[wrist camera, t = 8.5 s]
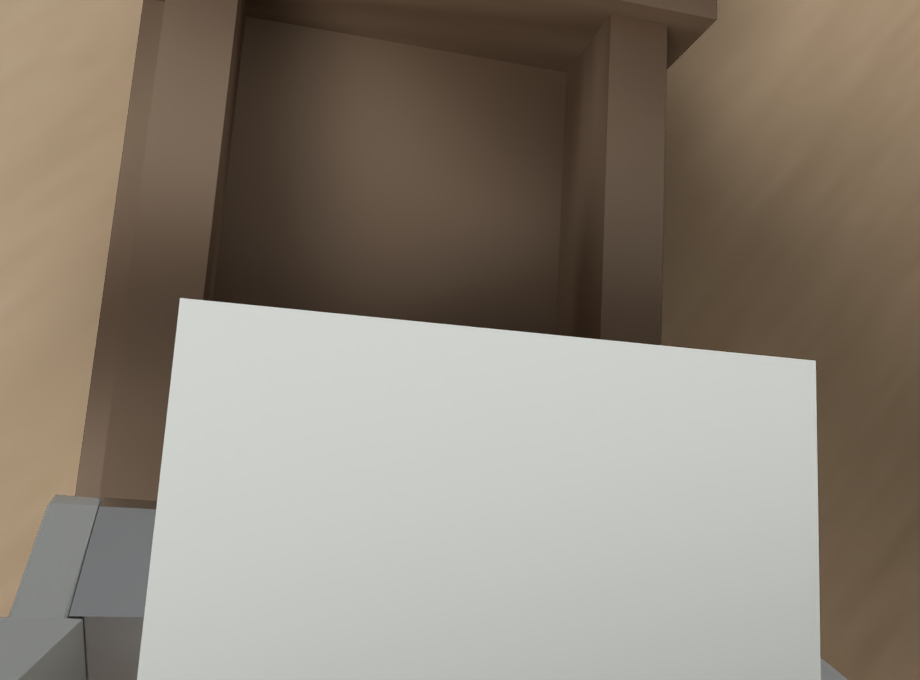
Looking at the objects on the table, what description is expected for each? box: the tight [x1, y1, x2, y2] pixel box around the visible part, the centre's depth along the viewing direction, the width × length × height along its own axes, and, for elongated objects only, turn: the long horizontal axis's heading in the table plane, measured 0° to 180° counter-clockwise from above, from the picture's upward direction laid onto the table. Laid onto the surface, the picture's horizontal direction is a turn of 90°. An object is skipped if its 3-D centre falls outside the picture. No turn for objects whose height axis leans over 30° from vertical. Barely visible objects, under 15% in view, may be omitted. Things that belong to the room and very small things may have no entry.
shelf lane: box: [75, 0, 717, 501], centre depth 17 cm, size 17×11×4 cm, turn 176°
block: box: [137, 298, 821, 680], centre depth 11 cm, size 6×5×10 cm
